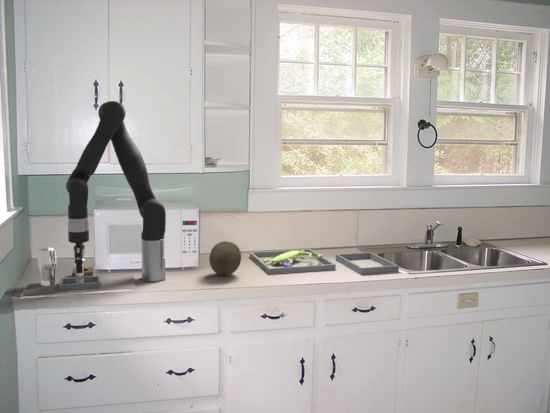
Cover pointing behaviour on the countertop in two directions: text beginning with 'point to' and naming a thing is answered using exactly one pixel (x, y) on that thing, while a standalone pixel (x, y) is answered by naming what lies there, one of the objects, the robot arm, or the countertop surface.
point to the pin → (80, 275)
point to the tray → (80, 285)
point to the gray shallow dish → (386, 268)
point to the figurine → (289, 257)
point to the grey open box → (327, 266)
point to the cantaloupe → (225, 258)
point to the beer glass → (47, 265)
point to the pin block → (87, 271)
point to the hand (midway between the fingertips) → (79, 270)
